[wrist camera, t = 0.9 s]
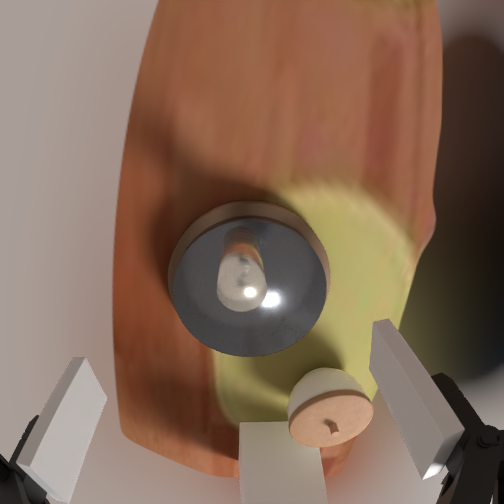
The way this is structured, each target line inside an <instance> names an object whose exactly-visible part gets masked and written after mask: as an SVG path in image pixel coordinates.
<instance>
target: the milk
mask: <svg viewBox="0 0 504 504" xmlns="http://www.w3.org/2000/svg"><path fill="white" fill-rule="evenodd" d="M288 423H289V422H288V421H284V422H240V429H239V460H238V461H239V477H240V492H241V504H328V500H327V493H326V487H325V481H324V474H323V468H322V462H321V456H320V450H319V447H308V446H304V445H301V444H299V443H297V442H296V441H294V440H293V439H292V437H291V436H290V433H289V428H288Z"/></svg>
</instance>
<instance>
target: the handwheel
mask: <svg viewBox="0 0 504 504" xmlns="http://www.w3.org/2000/svg"><path fill="white" fill-rule="evenodd" d="M326 293H327V282H326V275H325V272H324V268H323V265H322V263H321V261H320V259H319V257H318V255H317V254H316V252H315V251H314V249H313V248H312V246H311V245H310V243H309V242H308V241H307V240H306V238H305V237H304V236H303V235H302V234H300V233H299V232H298V231H297V230H296V229H294V228H292V227H291V226H289V225H288V224H286V223H283V222H281V221H279V220H276V219H273V218H269V217H264V216H256V215H245V216H236V217H232V218H228V219H225V220H222V221H219V222H217V223H215V224H213V225H211V226H209V227H208V228H206V229H205V230H204V231H202V232H201V233H200V234H199V235H197V236H196V237H195V238H194V239H193V240H192V242H191V243H190V244H189V246H188V247H187V248H186V250H185V252H184V254H183V255H182V258H181V260H180V262H179V265H178V267H177V270H176V273H175V277H174V282H173V297H174V303H175V307H176V310H177V313H178V315H179V317H180V319H181V321H182V323H183V324H184V326H185V327H186V328H187V329H188V331H189V332H190V333H191V334H192V335H193V336H194V337H195V338H196V339H198V340H199V341H200V342H202V343H203V344H205V345H206V346H208V347H210V348H212V349H214V350H216V351H219V352H222V353H225V354H229V355H233V356H241V357H256V356H264V355H268V354H272V353H275V352H278V351H281V350H283V349H285V348H288V347H289V346H291V345H293V344H294V343H296V342H297V341H299V340H300V339H301V338H303V337H304V336H305V335H306V334H307V333H308V332H309V331H310V329H311V328H312V327H313V326H314V325H315V323H316V321H317V320H318V318H319V316H320V314H321V312H322V310H323V307H324V303H325V299H326Z"/></svg>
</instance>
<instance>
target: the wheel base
mask: <svg viewBox="0 0 504 504" xmlns="http://www.w3.org/2000/svg"><path fill="white" fill-rule="evenodd" d="M245 215H256V216H264V217H269V218H273V219H276V220H279V221H281V222H283V223H286V224H288V225H289V226H291V227H292V228H294V229H296V230H297V231H298V232H299V233H300V234H302V235H303V236H304V237H305V238H306V240H307V241H308V242H309V243H310V245H311V246H312V248H313V249H314V251H315V252H316V254H317V255H318V257H319V259H320V261H321V263H322V265H323V268H324V272H325V275H326V282H327V293H326V299H327V296H328V292H329V287H330V266H329V261H328V257H327V254H326V251H325V249H324V247H323V245H322V243H321V242H320V240H319V238H318V237H317V235H316V234H315V233H314V231H313V230H312V229H311V228H310V227H309V225H308V224H307V223H306V222H305V221H304V220H303V219H301V218H300V217H299V216H298V215H296V214H295V213H293V212H292V211H290V210H288V209H286V208H284V207H282V206H280V205H277V204H273V203H270V202H266V201H259V200H240V201H233V202H229V203H225V204H222V205H220V206H217V207H214V208H212V209H211V210H209V211H207V212H205V213H204V214H202V215H201V216H200V217H198V218H197V219H196V220H195V221H194V222H193V223H192V224H191V225H189V226H188V228H187V229H186V230H185V232H184V233H183V234H182V236H181V238H180V239H179V241H178V243H177V245H176V247H175V249H174V251H173V254H172V256H171V259H170V263H169V268H168V278H167V280H168V290H169V294H170V298H171V301H172V304H173V306H174V308H175V310H176V307H175V303H174V297H173V282H174V277H175V273H176V270H177V267H178V265H179V262H180V260H181V258H182V255H183V254H184V252H185V250H186V248H187V247H188V246H189V244H190V243H191V242H192V240H193V239H194V238H195V237H196V236H197V235H199V234H200V233H201V232H202V231H204V230H205V229H206V228H208V227H209V226H211V225H213V224H215V223H217V222H219V221H222V220H225V219H228V218H232V217H236V216H245ZM326 299H325V301H326ZM324 304H325V303H324ZM176 312H177V310H176ZM177 314H178V313H177Z"/></svg>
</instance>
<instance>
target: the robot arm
mask: <svg viewBox="0 0 504 504" xmlns="http://www.w3.org/2000/svg"><path fill="white" fill-rule="evenodd" d="M369 370H370V372H371V373H372V375H373V377H374V379H375V381H376V383H377V385H378V387H379V389H380V391H381V393H382V395H383V397H384V399H385V401H386V403H387V406H388V407H389V410H390V412H391V414H392V416H393V418H394V420H395V422H396V424H397V426H398V428H399V431H400V433H401V434H402V437H403V439H404V441H405V443H406V445H407V448H408V450H409V452H410V454H411V456H412V458H413V461H414V463H415V465H416V467H417V469H418V472H419V474H420V476H421V479H422V480H423V479H425V478H428V477H430V476H433V475H435V474H438V473H440V472H441V470H442V469H443V467H444V466H445V465H446V467H447V469H448V471H449V472H448V473H447V475H446V477H445V478H444V479H443V481H442V483H441V484H443V487H442V490H441V492H440V495H439V498H438V500H437V503H436V504H490V502H491V498H492V495H493V503H492V504H504V430H498V429H497V428H496V427H493V426H490V425H485V424H484V423H483V422H482V421H481V419H480V418H479V416H478V415H477V413H476V412H475V410H474V409H473V408H472V406H471V405H470V403H469V402H468V400H467V399H466V398H465V397H464V395H463V393H462V392H461V391H460V390H459V388H458V387H457V385H456V384H455V383H454V381H453V380H452V379H451V378H450V377H448V376H447V375H445V374H443V373H439V374H436V375H434V376H430V375H429V374H428V373H427V371H426V370H425V368H424V367H423V365H422V364H421V363H420V361H419V360H418V358H417V357H416V355H415V354H414V353H413V351H412V350H411V348H410V347H409V346H408V344H407V343H406V342H405V340H404V339H403V337H402V336H401V335H400V333H399V332H398V330H397V329H396V328H395V326H394V325H393V324H392V322H391V321H390V320H389V318H388V319H384V320H380V321H375V322H373V329H372V342H371V354H370V365H369ZM106 400H107V397H106V395H105V393H104V392H103V390H102V388H101V386H100V384H99V382H98V380H97V379H96V377H95V375H94V373H93V371H92V369H91V367H90V365H89V363H88V361H87V359H86V358H85V357H76V358H73V359H72V361H71V362H70V364H69V365H68V367H67V369H66V370H65V372H64V374H63V375H62V377H61V379H60V380H59V382H58V384H57V386H56V387H55V389H54V391H53V392H52V394H51V396H50V398H49V400H48V401H47V403H46V405H45V407H44V409H43V411H42V412H41V414H40V416H39V415H37V416H35V417H34V418H33V419H32V420H31V421H30V422H29V424H28V426H27V428H26V430H25V433H23V435H22V439H21V440H20V441H19V443H18V445H17V447H16V449H15V451H14V453H13V455H12V457H11V459H10V461H9V463H8V462H7V461H6V459H5V458H4V457H3V456H2V455H1V454H0V504H50V503H49V501H48V500H47V499H46V495H47V493H48V494H49V495H50V496H51V497H52V498H54V499H55V500H57V501H61V502H65V503H70V500H71V497H72V494H73V490H74V487H75V484H76V481H77V478H78V475H79V473H80V470H81V467H82V464H83V461H84V458H85V455H86V453H87V450H88V447H89V444H90V441H91V439H92V436H93V434H94V431H95V428H96V425H97V423H98V420H99V418H100V415H101V413H102V410H103V408H104V405H105V403H106Z"/></svg>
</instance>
